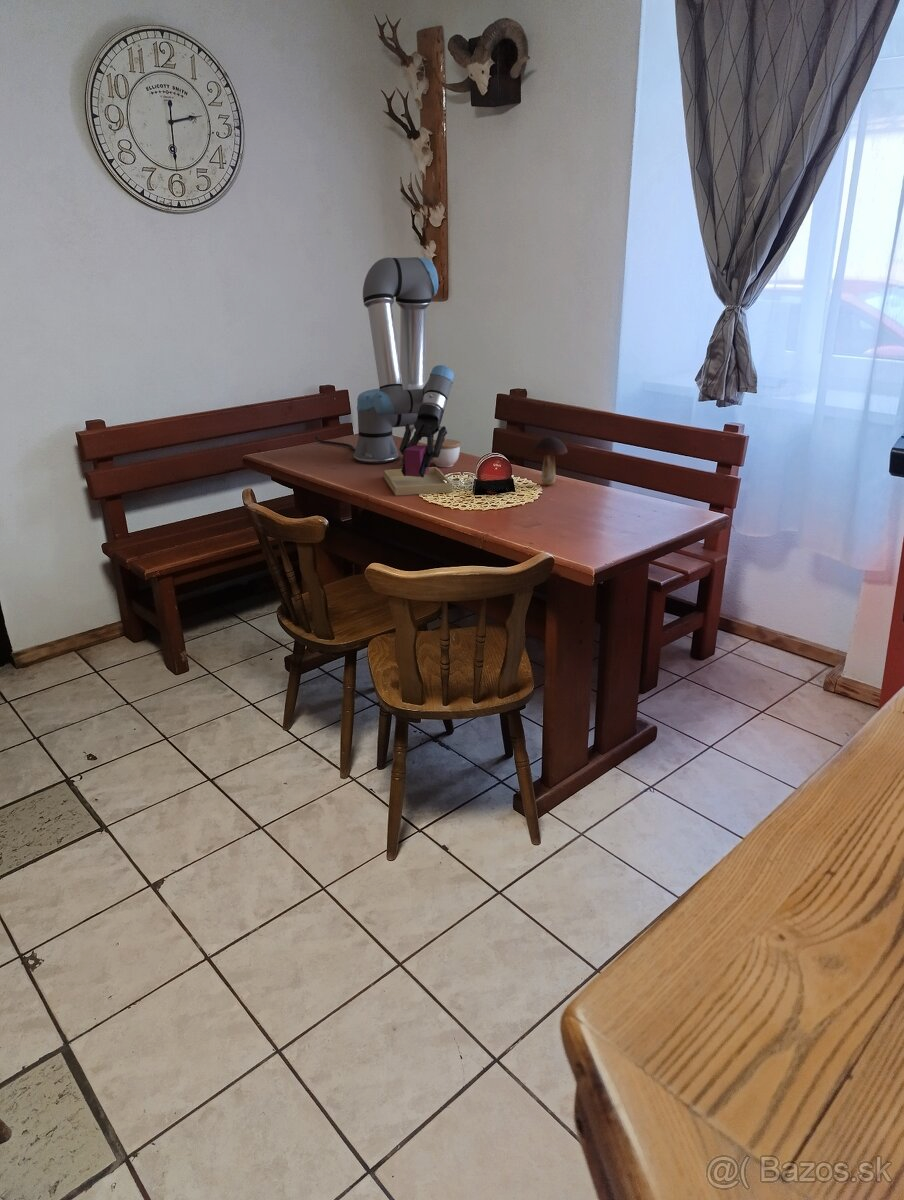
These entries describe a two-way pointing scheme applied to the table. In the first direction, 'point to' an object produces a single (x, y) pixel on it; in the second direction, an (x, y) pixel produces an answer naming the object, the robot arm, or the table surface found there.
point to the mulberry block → (414, 460)
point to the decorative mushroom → (549, 457)
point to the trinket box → (447, 453)
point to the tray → (417, 482)
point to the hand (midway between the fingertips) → (412, 474)
